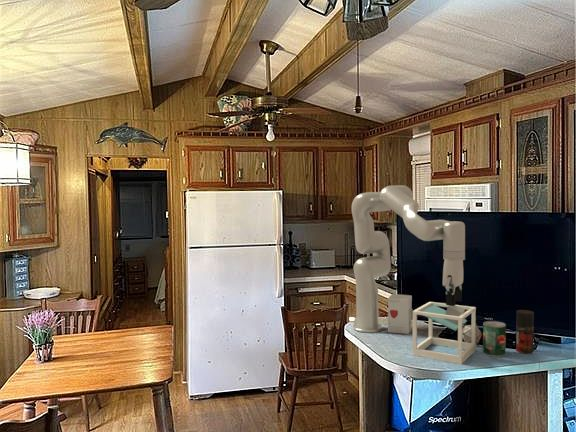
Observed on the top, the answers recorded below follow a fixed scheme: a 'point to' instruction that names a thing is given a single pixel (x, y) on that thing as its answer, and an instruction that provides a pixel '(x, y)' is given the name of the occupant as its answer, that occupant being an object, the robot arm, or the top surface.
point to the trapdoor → (438, 310)
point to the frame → (461, 356)
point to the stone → (454, 313)
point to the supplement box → (400, 313)
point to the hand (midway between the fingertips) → (453, 302)
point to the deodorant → (525, 331)
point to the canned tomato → (494, 338)
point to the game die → (467, 334)
